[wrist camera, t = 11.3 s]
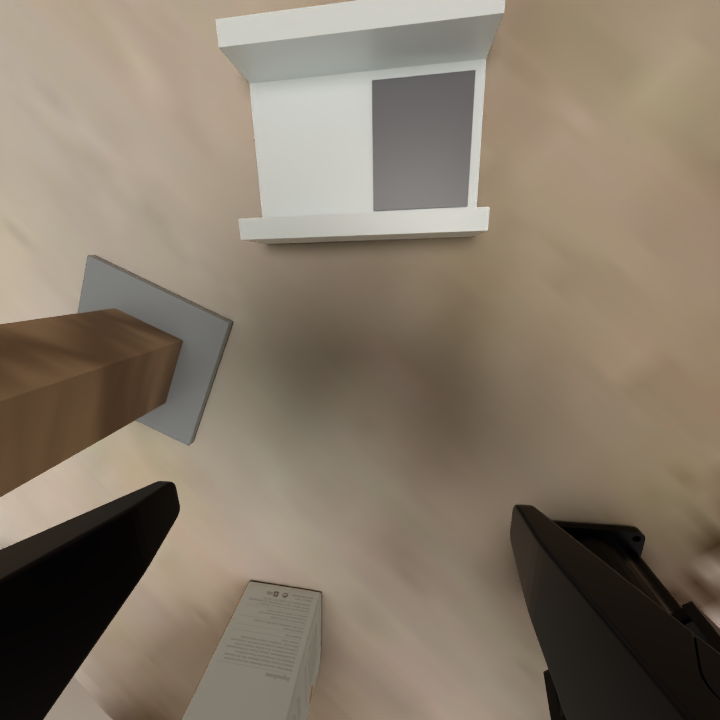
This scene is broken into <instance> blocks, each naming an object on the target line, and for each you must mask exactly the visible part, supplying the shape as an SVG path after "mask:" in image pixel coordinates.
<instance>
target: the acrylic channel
mask: <svg viewBox="0 0 720 720" xmlns="http://www.w3.org/2000/svg"><path fill="white" fill-rule="evenodd" d="M504 9H505V0H356V1H349V2H341V3H334V4H326V5H319V6H312V7H304V8H297V9H289V10H282V11H274V12H267V13H259V14H252V15H244V16H237V17H229V18H222V19H216V28H217V36H218V45H219V48H220V49H221V51H222V52H223V53H224V54H225V55H226V57H227V58H228V59H229V60H230V61H231V62H232V64H233V65H234V66H235V67H236V68H237V69H238V71H239V72H240V73H241V74H242V75H243V76H244V78H245V79H246V80H247V81H248V82H249V84H250V95H251V105H252V115H253V126H254V136H255V147H256V157H257V167H258V178H259V188H260V198H261V209H262V217H261V218H240V219H238V220H239V228H240V237H241V240H245V241H251V242H257V243H263V244H282V243H310V242H338V241H366V240H394V239H421V238H449V237H474V236H476V235H479V234H481V233H483V232H485V231H488V221H489V208H490V207H477V194H478V178H479V163H480V148H481V132H482V117H483V102H484V87H485V71H486V58H487V56H488V53H489V51H490V48H491V45H492V43H493V40H494V38H495V35H496V33H497V30H498V27H499V25H500V22H501V20H502V17H503V15H504Z"/></svg>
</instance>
